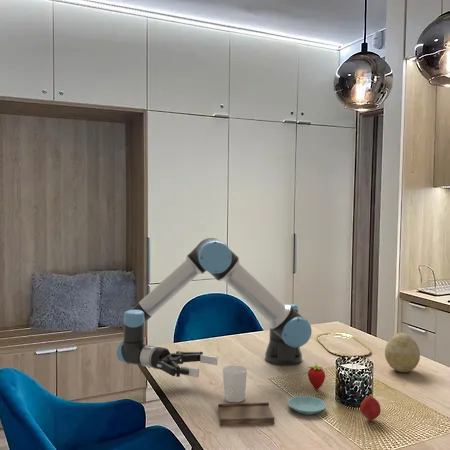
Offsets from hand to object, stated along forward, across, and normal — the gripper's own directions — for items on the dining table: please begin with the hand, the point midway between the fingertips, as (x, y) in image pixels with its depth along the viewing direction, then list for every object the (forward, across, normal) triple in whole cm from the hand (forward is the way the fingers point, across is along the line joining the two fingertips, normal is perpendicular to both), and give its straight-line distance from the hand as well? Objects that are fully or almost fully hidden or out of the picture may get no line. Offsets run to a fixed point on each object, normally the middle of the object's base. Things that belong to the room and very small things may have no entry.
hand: (208, 367), depth 164 cm
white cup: (+10, 0, -9) cm, 14 cm away
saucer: (+34, -2, -9) cm, 35 cm away
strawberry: (+33, -19, -9) cm, 39 cm away
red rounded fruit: (+53, -3, -9) cm, 54 cm away
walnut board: (+18, +10, -9) cm, 23 cm away
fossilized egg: (+58, -52, -8) cm, 78 cm away
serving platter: (+30, -75, -9) cm, 81 cm away
